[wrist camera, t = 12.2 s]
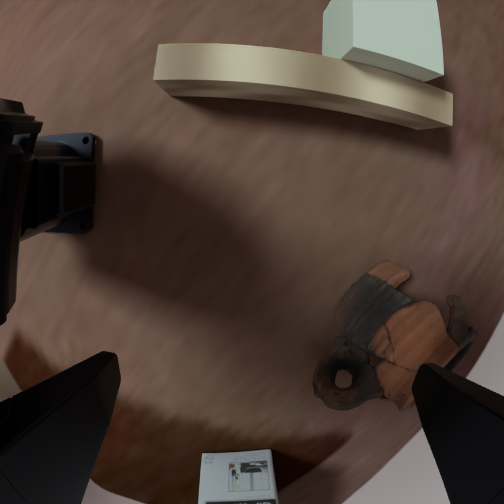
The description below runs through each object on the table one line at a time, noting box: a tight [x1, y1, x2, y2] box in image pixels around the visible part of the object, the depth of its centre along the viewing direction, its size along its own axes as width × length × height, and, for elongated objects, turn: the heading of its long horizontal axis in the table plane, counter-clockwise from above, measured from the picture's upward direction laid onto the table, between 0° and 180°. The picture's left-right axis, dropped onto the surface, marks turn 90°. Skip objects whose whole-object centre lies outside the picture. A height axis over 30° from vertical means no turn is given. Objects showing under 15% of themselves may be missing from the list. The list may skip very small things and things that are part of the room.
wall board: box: [153, 43, 453, 130], centre depth 15 cm, size 16×2×4 cm, turn 85°
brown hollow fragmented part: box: [313, 261, 477, 412], centre depth 19 cm, size 12×10×8 cm
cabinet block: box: [322, 0, 444, 82], centre depth 13 cm, size 5×5×6 cm
